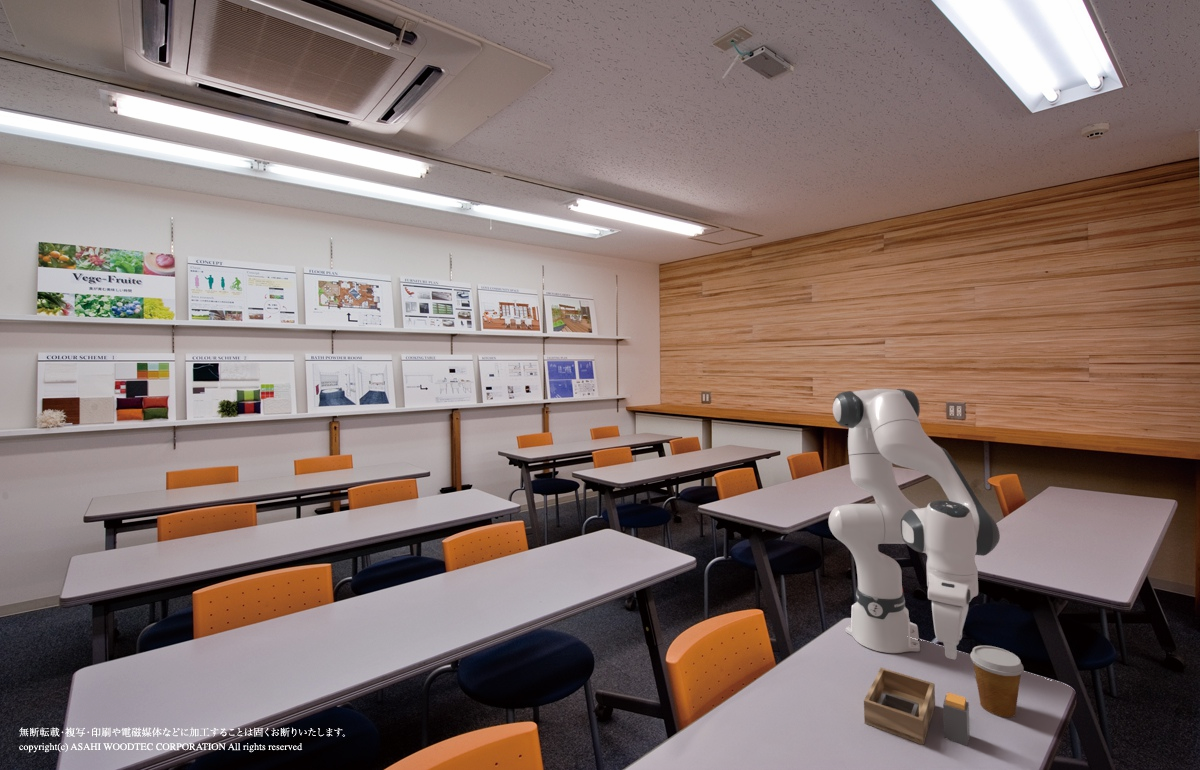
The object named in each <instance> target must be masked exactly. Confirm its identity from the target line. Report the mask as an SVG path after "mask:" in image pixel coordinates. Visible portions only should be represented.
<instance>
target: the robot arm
mask: <svg viewBox="0 0 1200 770" xmlns="http://www.w3.org/2000/svg"><path fill="white" fill-rule="evenodd" d="M920 410H921V407H920V402H919V398H918V396H917V395H916V394H915V392H913V391H912V390H908V389H903V388H897V389H892V388H871V389H861V390H854V391H852V390H847V391H843V392H839V393H838V394H836V396H835V398H834V399H833V404H832V414H833V417H834V420H835V422H836V423H837V424H838V425H839V426H840V427H843V428H847V429H848V434H847V436H848V437H847V450H848V451H847V452H848V463H849V472H850V479H851V482H852V483H853V484H854V485H855V486H856V487H858V488H859V489H861V490H863V491H865V492H867V493H869V494H870V495H871V496H872V497H873V498H874V501H875V503H847V504H842V505H837V506H834V507H833V508H832V510H831V511H830V513H829V516H828V521H827V523H828V527H829V528H828V529H829V530H830V532H831V533H832V535H833V536H834V537H835V538H836V539H837V541H839V542H841V543H842V544H843V545H845V547H846V548H847V549H848V550H849V551H850V553H851V554H852V556H853V559H854V562H855V566H856V574H857V587H856V592H855V596H856V602H855V603H853V604H852V605H851V611H850V612H851V615H850V616H851V618H850V620H851V621H850V624H849V625H847V626H846V627H845V632H846V633H847V634H849V636H851V637H853V639H854V640H855V641H856V642H857V643H859V644H860V645H861V646H863V647H865V648H867V649H870V650H873V651H877V652H881V653H886V654H887V653H888V654H901V653H907V652H920V651H921V647H920V646H921V645H920V637H919V627H918V625H917V624H916V623H913V622H911V621H910V620H911V619H910V617H909V616H910V615H909V612H910V611H909V609H908V608H907V607H906V600H905V599H906V598H905V595H904V588H903V585H902V584H903V583H902V577H903V576H902V569H901V568H902V567H901V566H900V564H899V563H898V562H897V560H895V559H894V558H892V557H891V556H888V555H887V554H885V553H882V552H880V551H879V545H880V544H881V545H882V544H887V545H888V544H889V545H891V544H892V545H893V544H895V545H896V544H897V545H899V544H900V545H902V544H903V545H905V544H906V545H907V546H908V547H909V548H911V549H912V550H914V551H915V552H918V553H924V554H925V555H926V556H927V557H926V564H925V565H926V586H927V599H928V600H930V601H931V611H932V612H931V613H932V621H933V630H934V635H935V638H936V640H937V641H938V642H940V643H943V647H944V655H945V658H947V659H950V660H951V659H952V660H956V659H957V657H958V655H957V654H958V652H957V649H958V648H957V646H958V645H959V643H960V641H961V640H962V638H963V629H964V626H965V622H966V618H967V616H968V612H969V604H970V602H971V601H972V599H973V598H974V597H977V596H978V595H979V581H978V580H979V579H978V578H979V576H978V575H979V574H978V566H977V565H976V564H977V563H976V556H986V555H988V554H990V553H991V552H992V551H993V550H994V549H995V548H996V547H997V545H998V544H999V542H1000V536H1001V535H1000V534H1001V533H1000V530H999V527H998V524H997V522H996V521H995V520H994V518H993V517H992V515H991V514H990V513H989V512H988V511H987V510H986V508H985V507H984V506H983V505H982V503H981V502H980V500H979V499H978V497H977V496H976V494H975V492H974V491H973V489H972V487H971V486H970V484H969V482H968V481H967V479H966V477H965V475H963V472H962V471H961V469H960V467H959V466H958V465H957V463H956V462H955V460H954V458H953V457H952V455H950V453H949V452H948V450H946V449H945V448H943V447H942V446H940V445H939V444H937V443H935V442H934V440H932V439H931V437H929V436H928V434H927V433H926V432H925V431H924V429H923V427H922V424H921V421H920V418H919V416H920ZM893 464H894V465H896V466H899V467H903V468H904V469H905V468H906V469H910V470H913V471H916V472H920V473H922V474H924V475H927V476H929V477H931V478H933V479H934V480H936V482H937V483H938V484H939V485H940V487H941V488H942V490H943V492H944V494H945V496H946V498H947V499H948V500H944V499H943V500H934V501H931V502H929V503H928V504H927V505H926V507H919V506H917V505H915V504H914V503H913V502H911V501H910V500H909V499H908V498H907V497H906V496H905V495H904V493H903V492H902V490H901V488H900V487H899V486H898V483H897V480H896V476H895V472H894V467H893ZM907 636H908V637H907ZM910 637H912V638H916V639H919V641H918V640H915V639H912V638H910Z"/></svg>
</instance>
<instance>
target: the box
mask: <svg viewBox="0 0 1200 770" xmlns="http://www.w3.org/2000/svg"><path fill="white" fill-rule="evenodd" d="M935 692H936V689H935V683H934V682H930V681H926V680H924V679H920V678H918V677H914V676H910V675H907V674H904V673H900V672H897V671H894V670H890V669H887V668H884V667H880V669H879V670H878V673H877V674H876V676H875V678H874V680H873V682H872V684H871V686H870V688H869V690H868V692H867V694H866V695H865V698H864V699H863V709H864V710H863V713H864V714H863V715H864V717H863V718H864V724H865V725H868V726H871V727H873V728H876V729H880V730H882V731H884V732H887V733H889V734H892V735H895V736H898V737H900V738H903V739H905V740H909V741H912V742H914V743H916V744H919V745H923V746H924V743H925V742H926V741H925V740H926V736H927V734H928V730H929V728H930V723H931V720H932V717H933V714H934V710H935V707H936V696H935V695H936V693H935Z"/></svg>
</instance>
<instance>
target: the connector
mask: <svg viewBox="0 0 1200 770" xmlns="http://www.w3.org/2000/svg"><path fill="white" fill-rule="evenodd" d="M969 706H970V704H969V701H967V698H966V697H965V696H962V695H957V694H954V693H951V692H947V693H946V694H945V697H944V699H943V704H942V709H943V711H942V712H943V716H942V717H943V737H944V739H947V740H949V741H952V742H955V743H957V744H960V745H962V746H963V745H964V746H966V747H968V746H969V740H970V707H969Z"/></svg>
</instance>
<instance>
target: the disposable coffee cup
mask: <svg viewBox="0 0 1200 770" xmlns="http://www.w3.org/2000/svg"><path fill="white" fill-rule="evenodd" d="M969 657H970V660H971V662H972V663H973V668H974V669H973V670H974V673H975V681H976V686H977V692H978V698H979V702H980V703H979V704H980V706H981V708H983V709H984V710H986V711H987V712H988V713H990V714H993V715H995V716H998V717H1002V718H1003V717H1004V718H1012V717H1014V716H1016V714H1017V713H1016V711H1017V706H1018V705H1017V704H1018V697H1019V689H1020V682H1021V675H1022V673H1023V671H1024V665H1023V664H1022V662H1021V659H1020V657H1019V656H1018V655H1016V654H1015V653H1013V652H1012V651H1011V652H1010V650H1006V649H1004V648H1000V647H998V646H997V647H996V646H992V645H977V646H974V647H973V648H972V651H971V652H970V656H969Z"/></svg>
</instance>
